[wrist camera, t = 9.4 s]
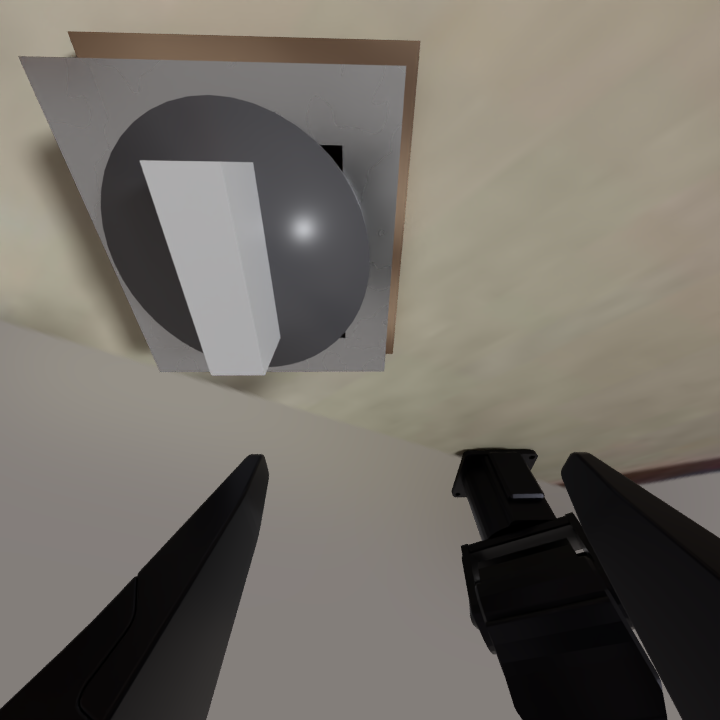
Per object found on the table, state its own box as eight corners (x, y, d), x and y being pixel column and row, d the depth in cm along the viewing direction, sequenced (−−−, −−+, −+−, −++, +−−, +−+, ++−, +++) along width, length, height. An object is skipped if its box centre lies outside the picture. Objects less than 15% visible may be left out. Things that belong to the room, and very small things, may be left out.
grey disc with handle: (363, 324, 17) (369, 407, 11) (201, 323, 16) (121, 408, 11) (368, 118, 12) (383, 74, 6) (134, 113, 11) (-83, 62, 6)
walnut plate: (390, 344, 20) (392, 353, 19) (195, 344, 20) (187, 353, 19) (414, 51, 12) (420, 41, 11) (91, 42, 12) (67, 31, 11)
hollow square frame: (378, 333, 18) (384, 371, 15) (196, 332, 18) (160, 371, 14) (391, 93, 12) (406, 65, 9) (113, 87, 12) (18, 56, 8)
